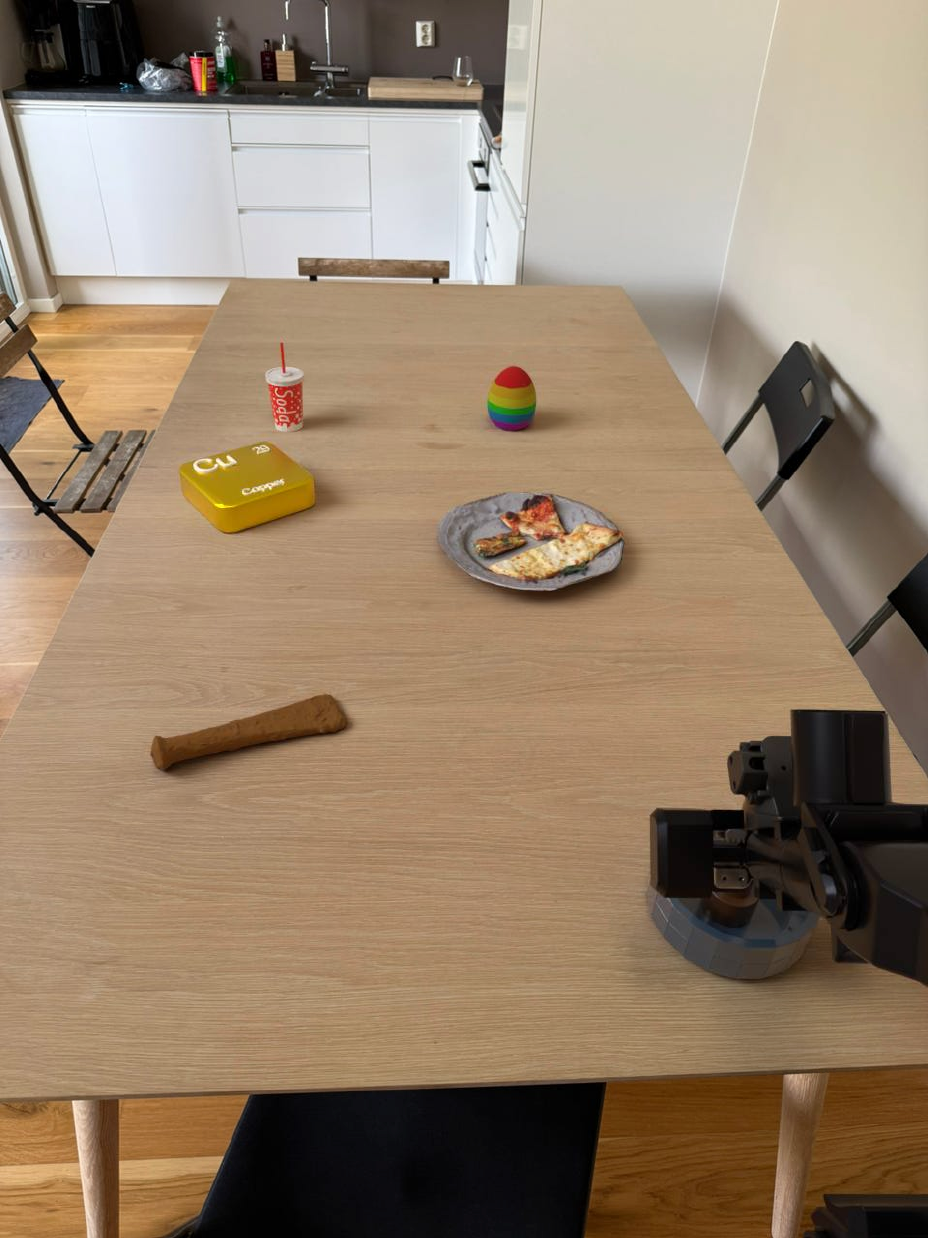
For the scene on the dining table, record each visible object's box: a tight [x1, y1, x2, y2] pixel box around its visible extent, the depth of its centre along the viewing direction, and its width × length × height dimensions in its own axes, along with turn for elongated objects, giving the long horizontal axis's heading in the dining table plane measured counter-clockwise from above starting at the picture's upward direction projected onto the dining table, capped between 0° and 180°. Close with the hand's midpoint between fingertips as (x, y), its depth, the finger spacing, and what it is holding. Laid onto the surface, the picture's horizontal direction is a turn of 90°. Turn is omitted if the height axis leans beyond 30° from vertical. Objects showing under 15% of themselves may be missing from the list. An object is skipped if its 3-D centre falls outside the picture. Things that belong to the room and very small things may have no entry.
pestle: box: [701, 796, 759, 928], centre depth 72 cm, size 4×4×14 cm
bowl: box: [645, 809, 821, 980], centre depth 75 cm, size 14×14×5 cm
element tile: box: [178, 441, 316, 534], centre depth 127 cm, size 15×15×5 cm
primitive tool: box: [149, 693, 348, 772], centre depth 89 cm, size 19×6×4 cm, turn 119°
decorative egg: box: [486, 365, 537, 431], centre depth 148 cm, size 8×8×10 cm
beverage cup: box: [264, 342, 305, 433], centre depth 143 cm, size 6×6×14 cm
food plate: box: [436, 491, 626, 592], centre depth 119 cm, size 25×23×4 cm
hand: (741, 840), depth 73 cm, fingers closed on pestle, 3 cm apart
